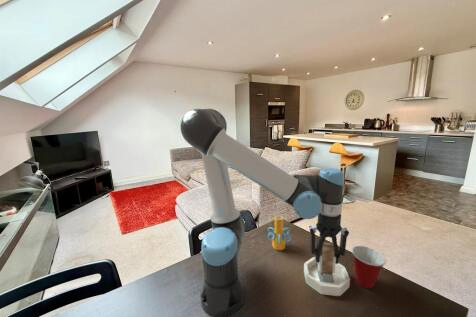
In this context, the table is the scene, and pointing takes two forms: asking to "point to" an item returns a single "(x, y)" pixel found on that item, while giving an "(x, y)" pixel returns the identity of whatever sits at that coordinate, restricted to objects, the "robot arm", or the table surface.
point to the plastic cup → (367, 265)
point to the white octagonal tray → (326, 279)
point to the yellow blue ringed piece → (278, 234)
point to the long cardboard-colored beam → (327, 258)
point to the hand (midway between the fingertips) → (326, 269)
